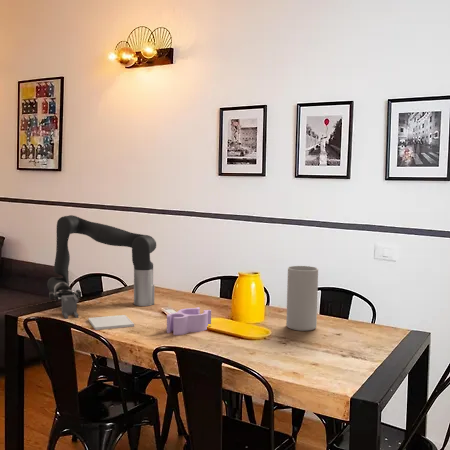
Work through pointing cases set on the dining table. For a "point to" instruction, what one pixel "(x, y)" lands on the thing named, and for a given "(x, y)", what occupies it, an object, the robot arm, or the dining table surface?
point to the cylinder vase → (302, 298)
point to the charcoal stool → (69, 305)
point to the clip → (188, 321)
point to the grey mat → (110, 322)
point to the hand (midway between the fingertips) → (67, 297)
